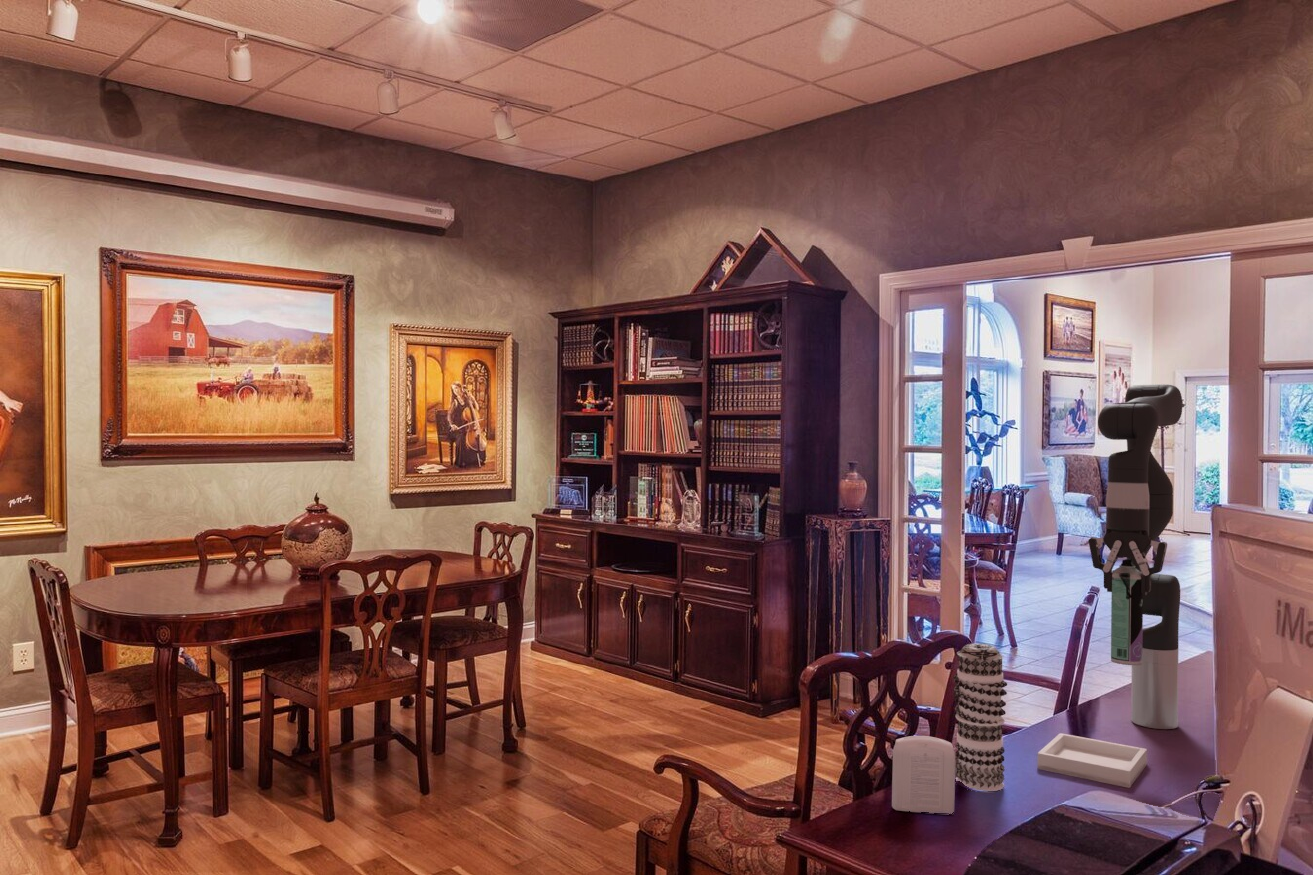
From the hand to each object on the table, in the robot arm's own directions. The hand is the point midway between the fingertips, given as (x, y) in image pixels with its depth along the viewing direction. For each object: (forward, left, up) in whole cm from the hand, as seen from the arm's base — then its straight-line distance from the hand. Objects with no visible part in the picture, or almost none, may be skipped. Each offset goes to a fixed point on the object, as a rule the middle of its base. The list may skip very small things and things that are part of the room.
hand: (1126, 592), depth 185 cm
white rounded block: (+48, -22, -33) cm, 62 cm away
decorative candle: (+29, -19, -33) cm, 48 cm away
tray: (+6, -5, -33) cm, 34 cm away
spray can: (0, 0, -14) cm, 14 cm away
